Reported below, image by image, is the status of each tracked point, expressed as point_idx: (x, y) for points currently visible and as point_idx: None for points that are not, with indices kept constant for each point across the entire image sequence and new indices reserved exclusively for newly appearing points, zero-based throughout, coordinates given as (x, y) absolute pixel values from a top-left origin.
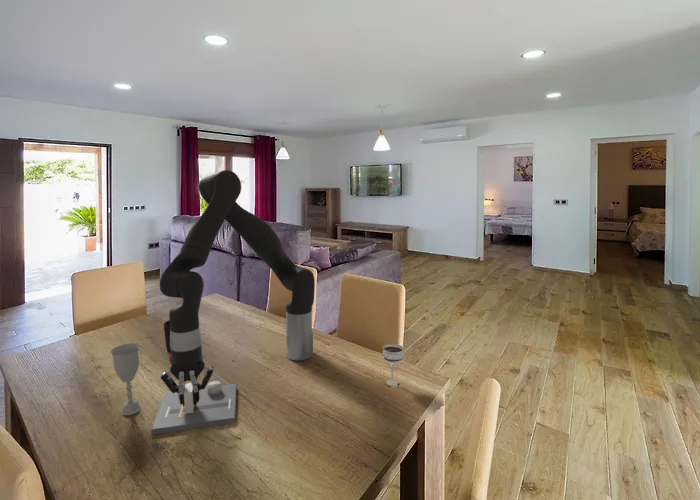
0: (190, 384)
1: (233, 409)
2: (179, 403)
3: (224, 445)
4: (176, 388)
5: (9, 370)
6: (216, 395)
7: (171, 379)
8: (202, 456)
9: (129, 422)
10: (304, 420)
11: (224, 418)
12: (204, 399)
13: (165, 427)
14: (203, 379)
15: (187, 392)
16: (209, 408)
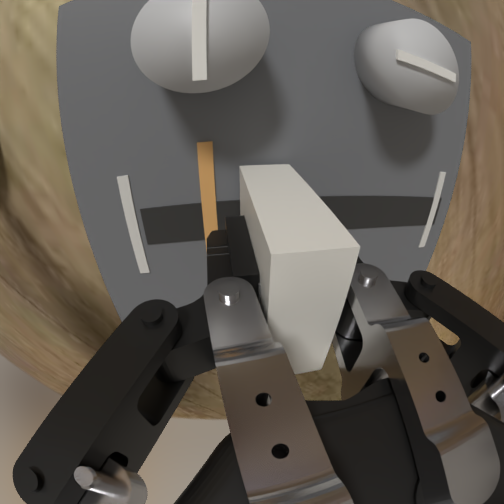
0: (318, 281)
1: (429, 252)
2: (177, 142)
3: None
4: (193, 375)
5: None
6: (399, 110)
7: (124, 435)
8: (303, 376)
9: (11, 234)
10: (494, 281)
11: None
12: (338, 129)
13: None
14: (446, 324)
15: None
16: (357, 229)
